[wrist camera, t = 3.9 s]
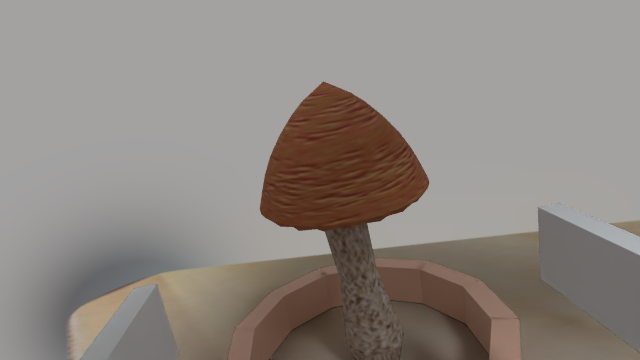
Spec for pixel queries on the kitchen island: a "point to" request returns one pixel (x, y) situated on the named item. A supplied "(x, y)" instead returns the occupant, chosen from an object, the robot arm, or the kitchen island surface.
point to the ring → (401, 285)
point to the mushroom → (345, 201)
